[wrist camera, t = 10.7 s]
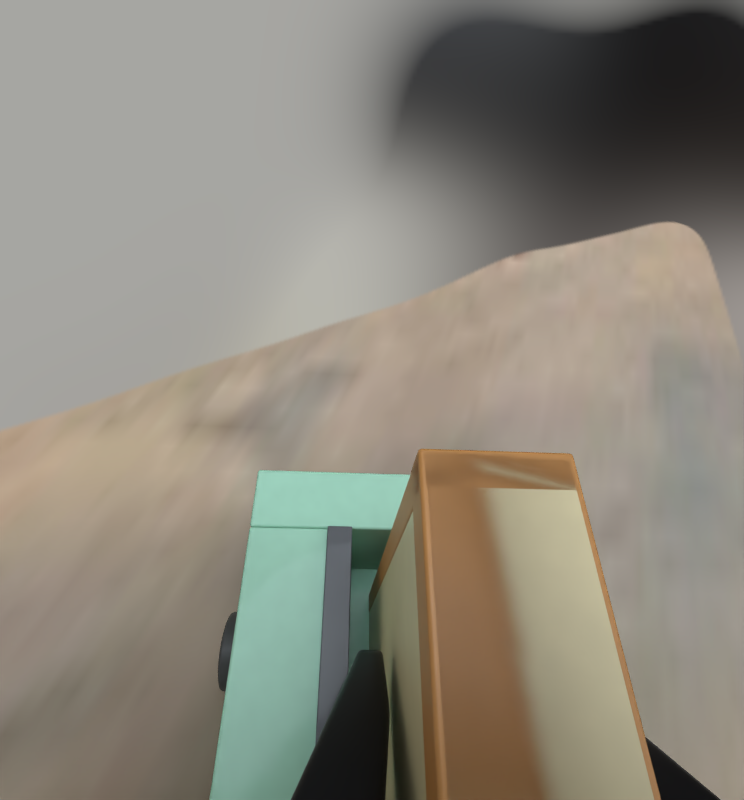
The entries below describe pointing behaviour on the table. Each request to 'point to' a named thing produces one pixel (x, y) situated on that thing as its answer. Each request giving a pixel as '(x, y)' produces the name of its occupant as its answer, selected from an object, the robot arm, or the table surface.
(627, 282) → the table surface
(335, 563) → the toaster
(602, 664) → the toast
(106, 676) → the table surface
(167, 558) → the table surface
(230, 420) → the table surface
